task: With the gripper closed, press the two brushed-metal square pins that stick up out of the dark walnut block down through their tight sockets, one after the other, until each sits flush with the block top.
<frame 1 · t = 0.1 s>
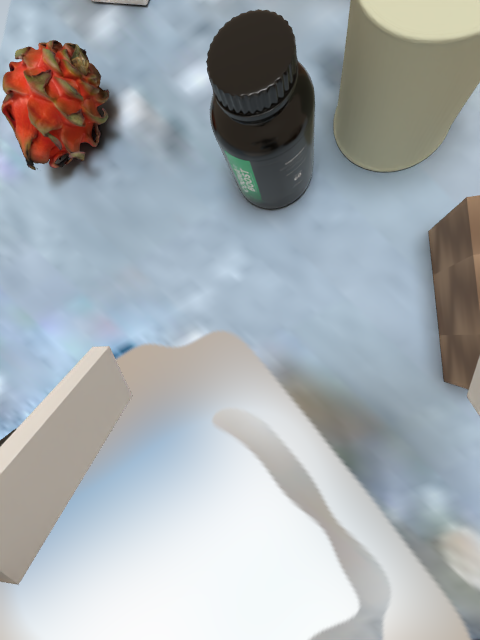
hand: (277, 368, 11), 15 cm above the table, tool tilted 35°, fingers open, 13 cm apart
can: (389, 121, 26), on the table
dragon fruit: (86, 137, 33), on the table
supplement bottle: (274, 175, 28), on the table
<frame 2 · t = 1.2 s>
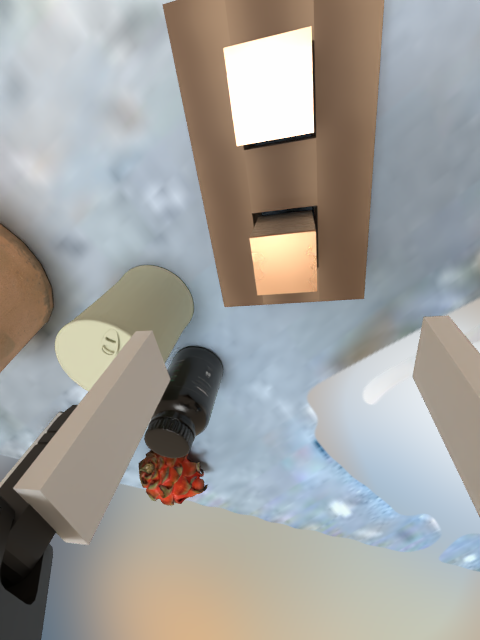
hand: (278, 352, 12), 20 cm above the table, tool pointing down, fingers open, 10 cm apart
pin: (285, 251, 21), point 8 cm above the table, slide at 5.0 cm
can: (156, 300, 36), on the table
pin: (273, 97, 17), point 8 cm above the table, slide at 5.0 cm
socket block: (284, 169, 26), on the table
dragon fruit: (181, 453, 52), on the table
supplement bottle: (199, 364, 40), on the table
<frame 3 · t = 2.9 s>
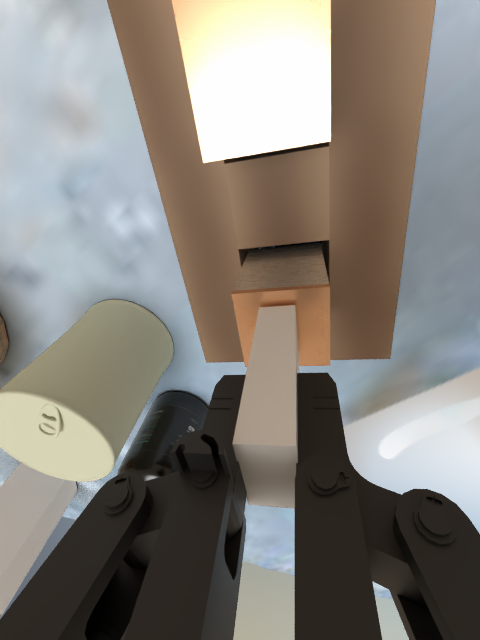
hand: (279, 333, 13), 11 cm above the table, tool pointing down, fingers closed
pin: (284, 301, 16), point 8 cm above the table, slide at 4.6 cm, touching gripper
can: (129, 339, 30), on the table
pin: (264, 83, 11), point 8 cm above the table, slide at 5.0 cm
milk carton: (55, 470, 46), on the table
socket block: (283, 184, 20), on the table
supplement bottle: (183, 410, 34), on the table
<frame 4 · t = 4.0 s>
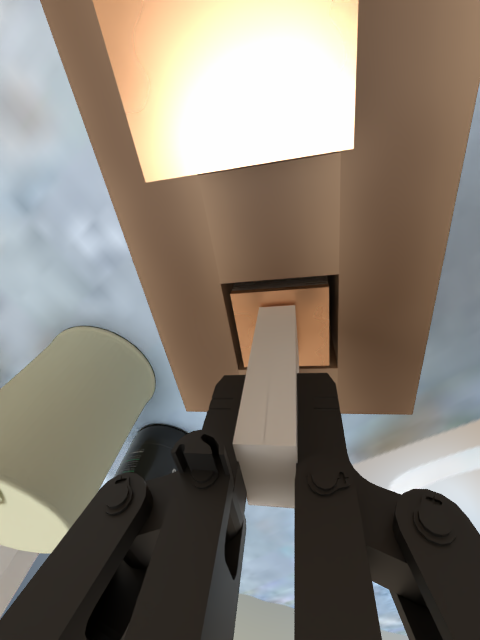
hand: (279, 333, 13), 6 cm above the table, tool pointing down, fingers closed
can: (105, 369, 26), on the table
milk carton: (34, 499, 43), on the table
socket block: (279, 196, 16), on the table
supplement bottle: (169, 444, 30), on the table
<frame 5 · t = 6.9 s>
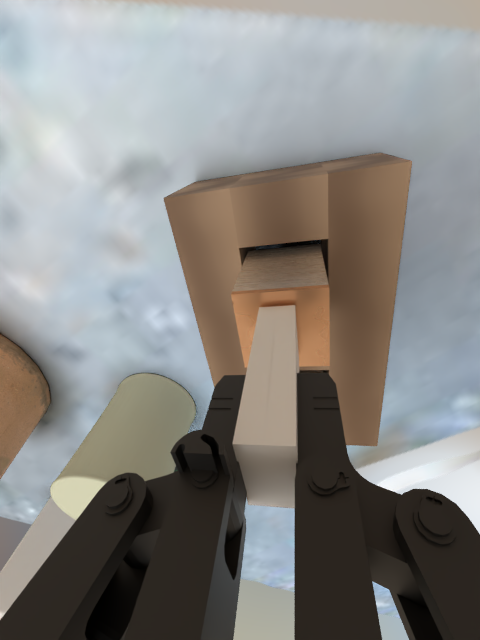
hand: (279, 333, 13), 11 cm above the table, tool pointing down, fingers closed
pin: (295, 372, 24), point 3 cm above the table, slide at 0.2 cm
can: (157, 401, 34), on the table
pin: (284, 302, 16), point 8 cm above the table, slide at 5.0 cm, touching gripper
milk carton: (81, 500, 51), on the table
socket block: (291, 302, 25), on the table
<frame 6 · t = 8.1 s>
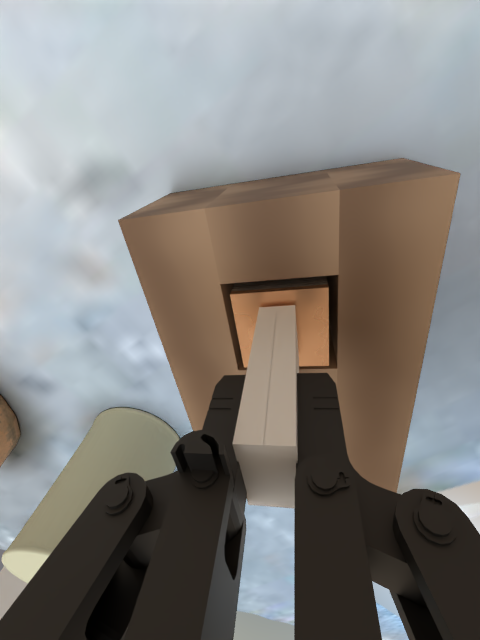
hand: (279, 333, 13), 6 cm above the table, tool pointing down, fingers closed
can: (139, 436, 30), on the table
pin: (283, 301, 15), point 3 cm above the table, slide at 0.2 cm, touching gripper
milk carton: (62, 531, 47), on the table
socket block: (290, 334, 21), on the table
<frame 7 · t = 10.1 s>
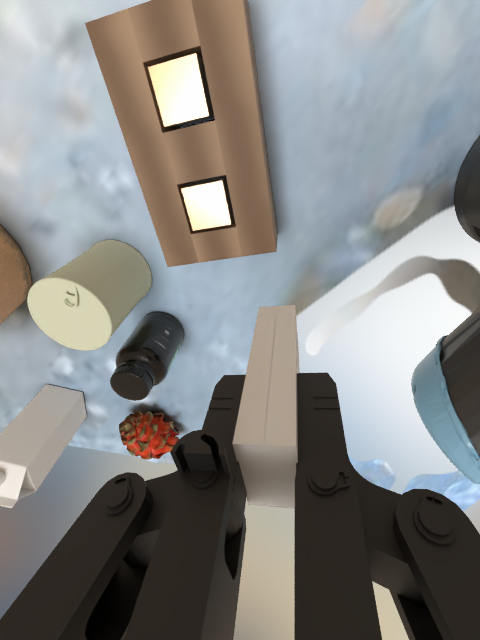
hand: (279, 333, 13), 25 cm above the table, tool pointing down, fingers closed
can: (120, 271, 41), on the table
milk carton: (68, 399, 58), on the table
socket block: (208, 149, 32), on the table
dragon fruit: (158, 417, 58), on the table
supplement bottle: (163, 329, 46), on the table
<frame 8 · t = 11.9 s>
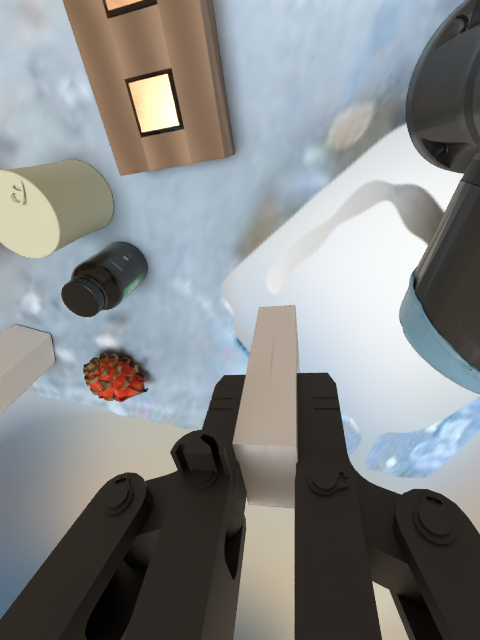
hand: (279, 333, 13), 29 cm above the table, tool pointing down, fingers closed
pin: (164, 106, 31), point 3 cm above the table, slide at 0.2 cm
can: (82, 196, 42), on the table
milk carton: (37, 342, 58), on the table
socket block: (164, 57, 32), on the table
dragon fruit: (126, 364, 58), on the table
supplement bottle: (127, 262, 46), on the table
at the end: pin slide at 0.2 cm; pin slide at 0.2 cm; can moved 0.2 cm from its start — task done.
